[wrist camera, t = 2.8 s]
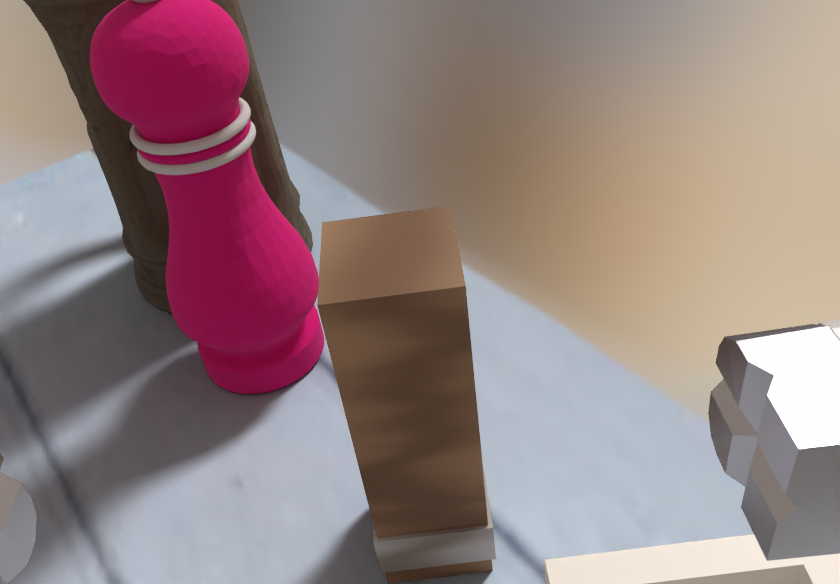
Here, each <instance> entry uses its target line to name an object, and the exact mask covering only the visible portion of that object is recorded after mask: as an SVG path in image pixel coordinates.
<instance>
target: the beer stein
mask: <svg viewBox="0 0 840 584" xmlns="http://www.w3.org/2000/svg"><path fill="white" fill-rule="evenodd" d="M24 1H25V2H26V4H27V5H28V6H29V7H30V8H31V10H32V11H33V12H34V14H35V16H36V17H37V18H38V20H39V21H40V23H41V24H42V26H43V27H44V28H45V30H46V31H47V33H48V35H49V37H50V39H51V41H52V43H53V45H54V47H55V50H56V52H57V54H58V57H59V59H60V61H61V63H62V66H63V67H64V70H65V72H66V74H67V77H68V80H69V84H70V87H71V89H72V90H73V92H74V94H75V96H76V98H77V100H78V103H79V106H80V108H81V110H82V112H83V114H84V116H85V119H86V121H87V131H88V135H89V137H90V139H91V142H92V145H93V148H94V150H95V153H96V155H97V158H98V160H99V163H100V165H101V168H102V170H103V173H104V175H105V178H106V180H107V183H108V185H109V188H110V191H111V193H112V196H113V198H114V201H115V204H116V207H117V210H118V213H119V216H120V219H121V222H122V225H123V235H122V237H123V242H124V245H125V247H126V250H127V252H128V253H129V254H130V255H131V256H132V257H133V258H134V272H135V278H136V281H137V285H138V288H139V290H140V292H141V293H142V295H143V296H144V297H145V299H146V300H147V301H149V302H150V303H151V304H153V305H154V306H156V307H158V308H160V309H162V310H165V311H167V312H172V311H171V308H170V304H169V301H168V296H167V289H166V275H165V274H166V265H167V256H168V246H169V219H168V210H167V206H166V202H165V198H164V194H163V190H162V188H161V186H160V183H159V181H158V179H157V177H156V175H155V173H154V172H152V171H150V170H147V169H146V168H145V167H144V166H142V165H141V164H140V162H139V161H138V157H137V151H138V150H137V147H135V146H134V145H133V143H132V142H131V139H130V130H131V127H132V125H133V124H132V123H130V122H128V121H126V120H125V119H123V118H121V117H119V116H118V115H116V114H115V113H114V112H113V111H111V110H110V108H109V107H108V106H107V105H106V104H105V103H104V101H103V100H102V98H101V96H100V94H99V92H98V90H97V88H96V85H95V83H94V79H93V75H92V71H91V68H90V47H91V40H92V37H93V34H94V32H95V30H96V28H97V27H98V25H99V24H100V22H101V21H102V19H103V18H104V16H106V15H107V14H108V13H109V12H110V11H111V10H113V9H114V8H116V7H117V6H118V5H120V4H121V3H123V2H125V1H127V0H24ZM211 1H213V2H214V3H216V4H217V5H219V6H220V7H221V8H222V9H223V10H224V11H225V12H226V13H228V14H229V15H230V17H231V18H232V19H233V21H234V22H235V24H236V25H237V27H238V28H239V30H240V33H241V35H242V37H243V39H244V42H245V45H246V50H247V54H248V58H249V75H248V78H247V82H246V85H245V87H244V89H243V91H242V93H241V94H240V98H242V99H243V100H244V101H246V102H247V103H248V105H249V107H250V110H251V115H250V120H251V121H252V122H253V124H254V126H255V129H256V136H255V139H254V141H253V143H252V145H251V146H250V149H251V154H252V159H253V164H254V167H255V169H256V172H257V174H258V177H259V179H260V182H261V184H262V186H263V188H264V189H265V191H266V193H267V194H268V196H269V198H270V199H271V201H272V202H273V203H274V205H275V206H276V207H277V208H278V210H279V211H280V212H281V213H282V214H283V216H284V217H285V218H286V219H287V220H288V221H289V222H290V224H291V225H292V226H293V227H294V228H295V229H296V230H297V232H298V233H299V234H300V236H301V237H302V239H303V241H304V242H305V244H306V246H307V248H308V249H309V251H310V253H311V250H312V246H313V242H312V234H311V231H310V228H309V226H308V224H307V222H306V220H305V218H304V216H303V214H302V213H301V212H300V209H299V204H300V195H299V193H298V191H297V189H296V188H295V186H294V185H293V183H292V182H291V180H290V178H289V175H288V172H287V168H286V165H285V161H284V158H283V155H282V151H281V148H280V144H279V141H278V138H277V134H276V131H275V127H274V125H273V121H272V117H271V114H270V111H269V108H268V104H267V101H266V97H265V94H264V91H263V87H262V84H261V80H260V77H259V73H258V70H257V66H256V63H255V59H254V56H253V52H252V48H251V44H250V41H249V37H248V34H247V30H246V27H245V23H244V20H243V16H242V13H241V9H240V6H239V2H238V0H211Z"/></svg>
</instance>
